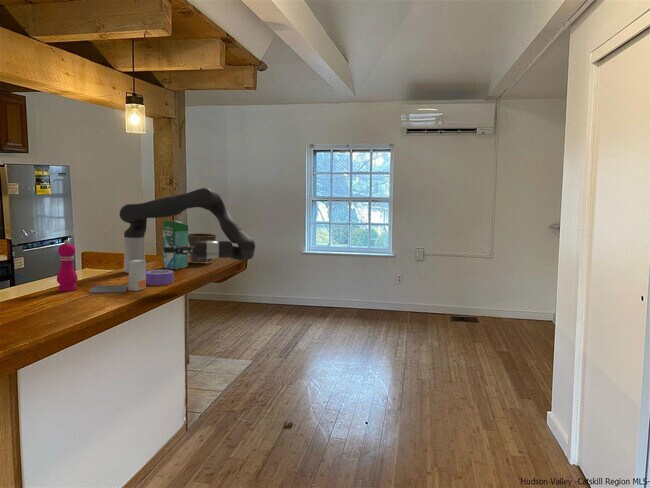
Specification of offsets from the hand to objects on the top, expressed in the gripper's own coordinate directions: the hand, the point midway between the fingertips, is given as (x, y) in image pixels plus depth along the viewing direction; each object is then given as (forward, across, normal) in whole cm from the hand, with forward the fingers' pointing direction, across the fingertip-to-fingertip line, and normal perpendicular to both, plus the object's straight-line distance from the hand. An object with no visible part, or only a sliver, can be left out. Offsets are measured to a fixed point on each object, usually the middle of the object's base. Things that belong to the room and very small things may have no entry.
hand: (164, 250), depth 193 cm
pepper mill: (+36, -2, +16) cm, 40 cm away
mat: (+21, 0, +16) cm, 26 cm away
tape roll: (+2, -14, +16) cm, 22 cm away
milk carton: (-4, -54, +16) cm, 57 cm away
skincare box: (+10, 0, +16) cm, 19 cm away
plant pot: (-18, -71, +16) cm, 75 cm away
